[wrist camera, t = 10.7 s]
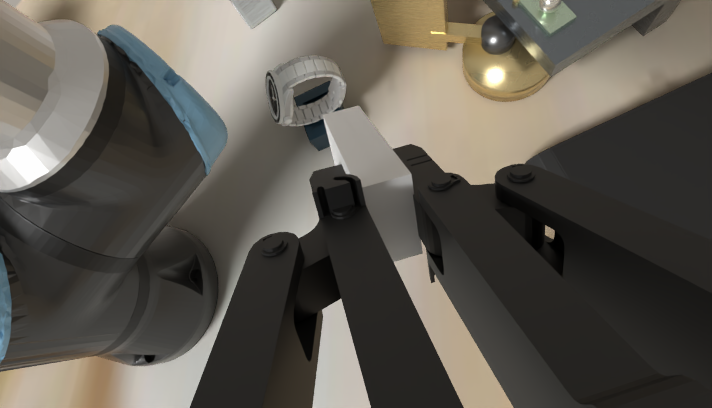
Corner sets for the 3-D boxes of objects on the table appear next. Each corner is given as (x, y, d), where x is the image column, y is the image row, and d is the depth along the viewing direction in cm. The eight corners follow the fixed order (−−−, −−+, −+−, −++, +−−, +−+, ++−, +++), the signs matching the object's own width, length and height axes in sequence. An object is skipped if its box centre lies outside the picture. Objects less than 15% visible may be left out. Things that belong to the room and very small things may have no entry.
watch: (289, 117, 49) (242, 67, 39) (352, 87, 48) (321, 28, 38) (303, 158, 48) (258, 118, 37) (369, 129, 47) (342, 79, 36)
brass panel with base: (384, 38, 48) (343, -103, 31) (550, 15, 44) (603, -160, 27) (385, 113, 46) (340, 5, 29) (558, 96, 42) (621, -39, 25)
